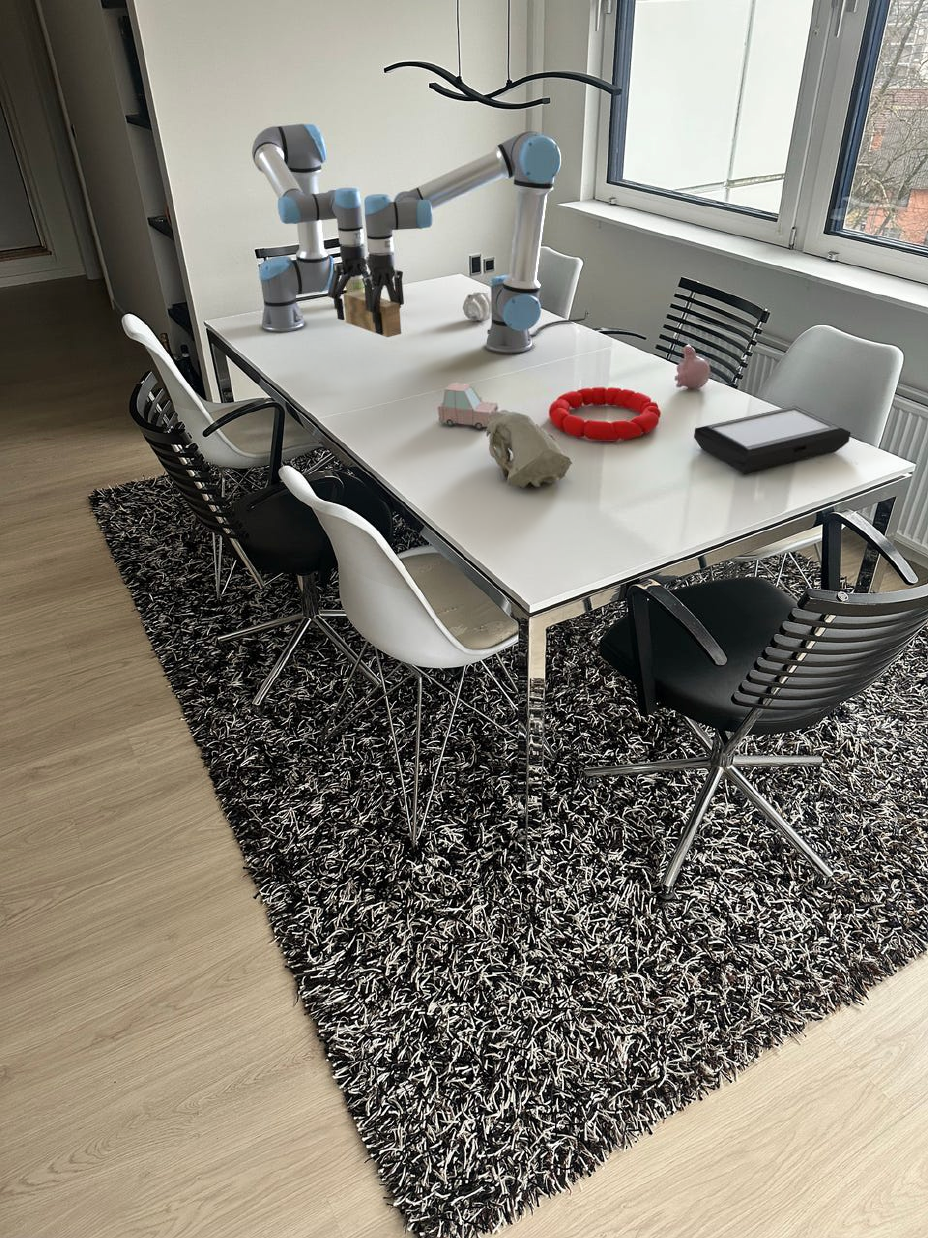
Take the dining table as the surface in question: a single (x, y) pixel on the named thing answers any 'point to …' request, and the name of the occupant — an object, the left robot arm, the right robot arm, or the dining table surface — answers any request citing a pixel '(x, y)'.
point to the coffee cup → (355, 283)
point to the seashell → (477, 306)
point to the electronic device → (771, 439)
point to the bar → (364, 318)
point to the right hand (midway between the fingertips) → (387, 331)
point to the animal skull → (525, 450)
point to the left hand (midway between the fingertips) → (358, 314)
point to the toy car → (465, 406)
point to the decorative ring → (604, 428)
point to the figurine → (692, 370)
